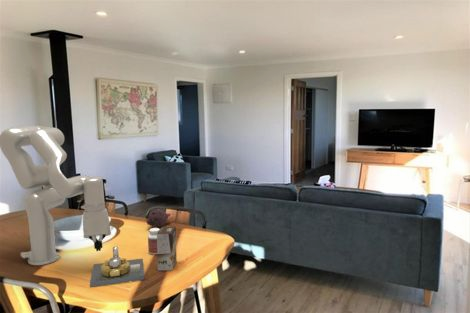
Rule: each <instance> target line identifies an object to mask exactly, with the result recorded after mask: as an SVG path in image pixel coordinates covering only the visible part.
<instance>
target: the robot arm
mask: <svg viewBox="0 0 470 313" xmlns="http://www.w3.org/2000/svg"><path fill="white" fill-rule="evenodd" d="M64 142H65V135H64V133H63V131H61V130H60V129H59V128H56V127H52V126H51V127H49V126H43V125H42V126H41V125H26V126H24V125H23V126H14V127H7V129H4V130H3V131H1V133H0V151H1V153H2V154H3V156H4V157H5V158H6V159H7V161H8V163H9V165H10V167H11V169H12V171H13V173H14V175H15V178H16V180H17V182H18V185H20V188H22V189H24V190H33V189H36V188H40V189H37V190H34V191H31V192H29V193H27V195H26V196H25V198H23V199H24V200H23V204H24V208H25V211H26V214H27V221H28V227H29V230H28V231H29V239H30V240H29V242H30V250H29V251H25V252H24V251H22V252H20V257H21V258H22V259H27V262H28V264H29V265H31V266H44V265H49V264H52V263H54V262H57V261H58V260H59V259H60V258H61V255H60V252H58V251H56V238H55V225H54V224H55V222H54V218H53V216H52V215H51V213H50V212H49V210H51V209H53V208H57V207H60V206H61V205H63V204H64V203H65V201H66V198H68V199H70V198H73V197H75V196H78V195H83V197H84V198H83V199H84V204H83V205H81V206H80V208H81V209H83V210H84V211H83V213H82V232H83V233H82V234H83V238H84V239H88V240H91V241H92V242H93V246H94V248H93V249H94V250H96V252H101V250H102V248H103V240H104V239H105V238H106V237H107V236H111V235H112V231H111V223H110V217H109V213H108V209H107V208H106V205H105V204H106V203H105V192H104V182H103V178H102V177H101V176H89V175H86V174H85V175H84V174H83V175H76V176H72V177H69V178H67V177H66V176H65V175H64V173H63V172H62V170H61V169H60V167H61V165H62V163H63V164H64V162H65V161H66V159H67V156H68V154H67V152H66V151H65V150H64V149H63V147H62V146H63V144H64ZM26 146H27V147H29V146H32V147H33V149H34V150H35V151H36V153H38V155H39V156H40V157H41V159H42V160H43V161H44V163H45V164H39V165H36V163H35V162H34V160H33V157H32V156H31V154H30V153H28V152H27V151H26V150H25V149H24V148H22V147H26ZM41 187H42V188H41ZM97 236H99V237H98V238H97Z"/></svg>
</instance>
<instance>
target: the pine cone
mask: <svg viewBox="0 0 470 313" xmlns="http://www.w3.org/2000/svg"><path fill="white" fill-rule="evenodd" d="M169 217H171V213H166V212H165V211H164V210H163V209H160V208H156V209H153V210H151V212H150V214H149V216H148V217H147V220H146V224H147V225H148V226H155V227H156V226H157V227H164V226H165V225H166V223H167V220H168V218H169Z"/></svg>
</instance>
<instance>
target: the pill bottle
mask: <svg viewBox="0 0 470 313" xmlns="http://www.w3.org/2000/svg"><path fill="white" fill-rule="evenodd" d="M160 229H161V228H158V227H153V228H149V230H148V232H149V234H148V235H147V243H148V244H147V248H148V254H150V255H157V233H158V231H159V230H160Z"/></svg>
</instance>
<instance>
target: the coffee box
mask: <svg viewBox="0 0 470 313" xmlns="http://www.w3.org/2000/svg"><path fill="white" fill-rule="evenodd" d="M160 227H161V228H159V229H160V230H159V231H158V233H157V254H156V255H157V271H173V270H174V267H175V265H176V263H177V260H178V259H177V256H178V255H177V227H176V226H160Z"/></svg>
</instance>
